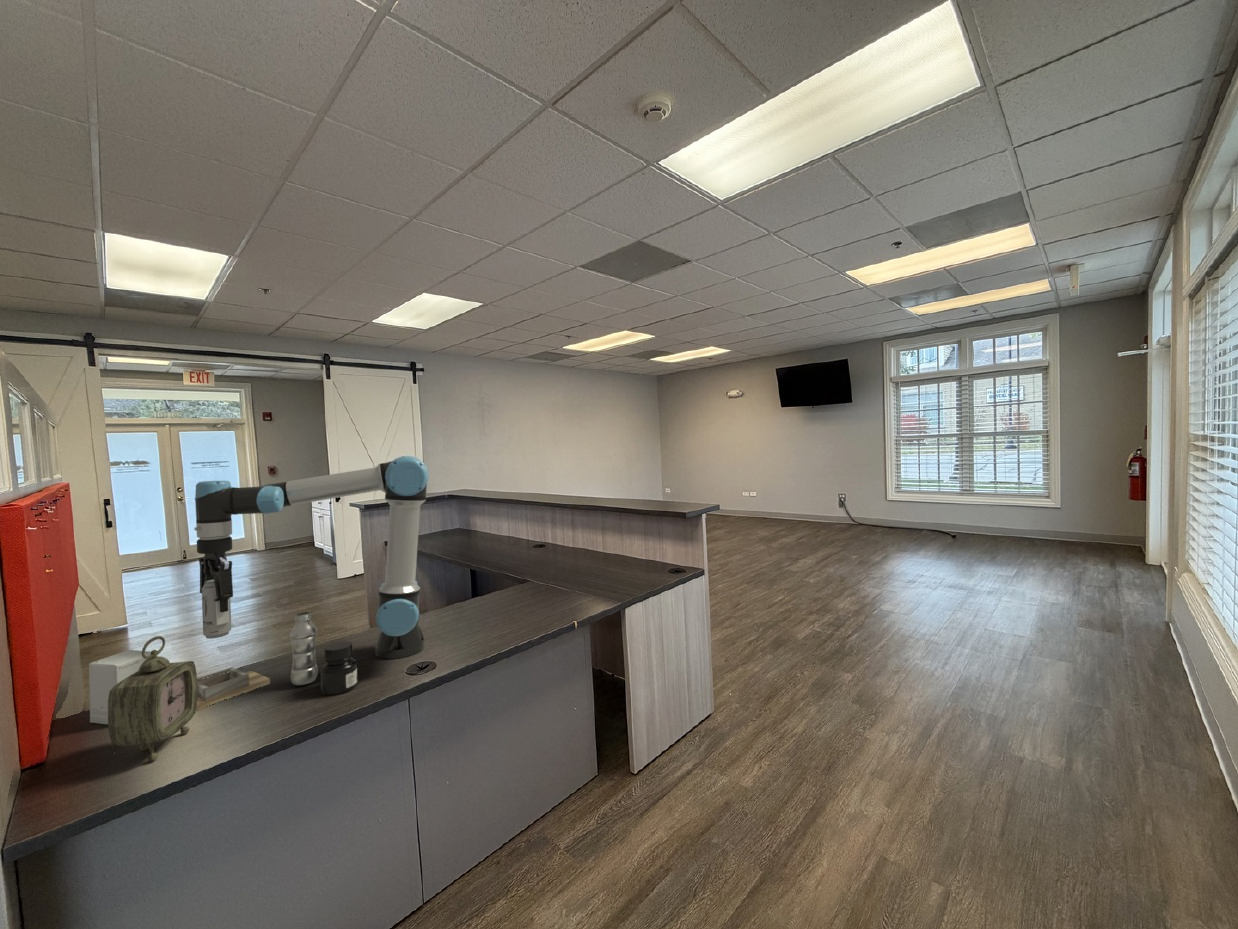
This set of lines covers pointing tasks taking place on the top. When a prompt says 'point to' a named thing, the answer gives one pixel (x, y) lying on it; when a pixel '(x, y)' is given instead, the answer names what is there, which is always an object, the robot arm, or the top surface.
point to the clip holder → (226, 685)
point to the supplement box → (110, 680)
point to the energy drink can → (212, 613)
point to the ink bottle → (338, 669)
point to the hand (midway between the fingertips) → (217, 621)
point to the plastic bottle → (303, 650)
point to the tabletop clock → (152, 702)
